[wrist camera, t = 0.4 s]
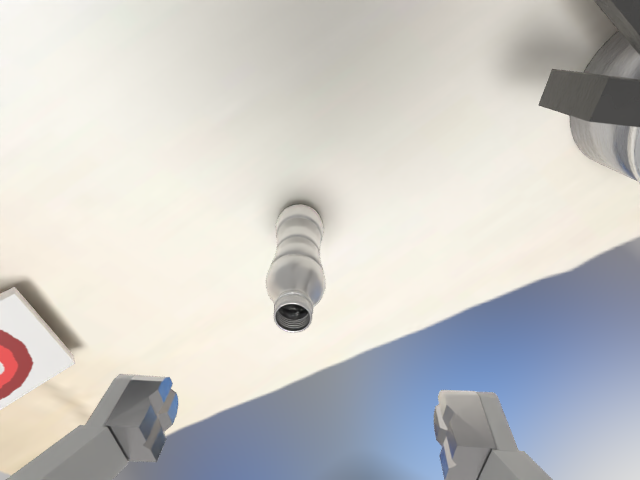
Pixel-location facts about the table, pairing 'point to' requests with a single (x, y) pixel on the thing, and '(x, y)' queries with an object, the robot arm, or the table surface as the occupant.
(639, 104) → the lid
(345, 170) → the table surface
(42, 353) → the pizza boxes
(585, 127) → the cooker pot
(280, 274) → the plastic bottle
